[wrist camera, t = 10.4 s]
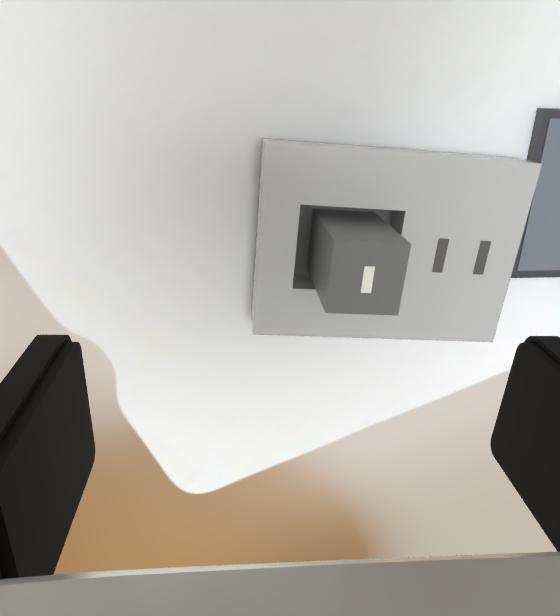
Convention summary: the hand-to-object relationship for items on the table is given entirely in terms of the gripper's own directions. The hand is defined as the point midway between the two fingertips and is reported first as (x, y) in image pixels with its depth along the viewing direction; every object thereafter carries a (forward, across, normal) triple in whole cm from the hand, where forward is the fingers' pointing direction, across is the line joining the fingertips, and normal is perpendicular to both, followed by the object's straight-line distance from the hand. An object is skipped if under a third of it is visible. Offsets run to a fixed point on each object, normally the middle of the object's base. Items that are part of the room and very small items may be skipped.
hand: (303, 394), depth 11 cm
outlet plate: (+26, -9, +4) cm, 28 cm away
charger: (+25, -6, +4) cm, 26 cm away
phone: (+26, -22, +1) cm, 35 cm away
